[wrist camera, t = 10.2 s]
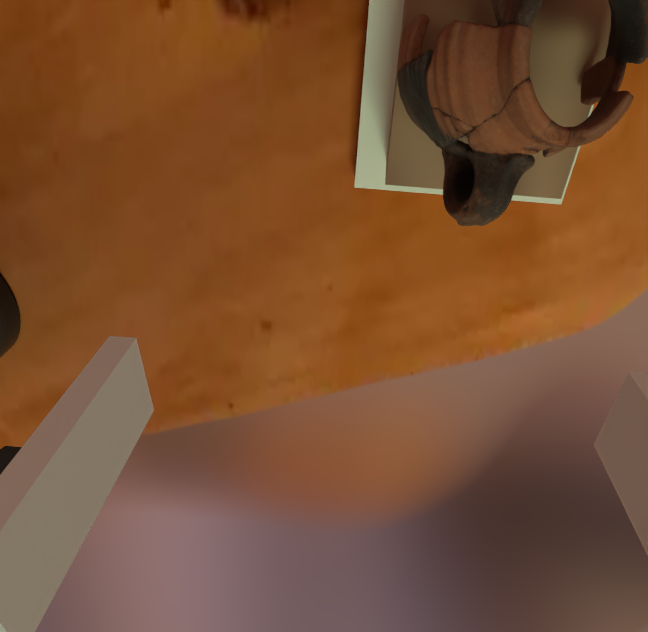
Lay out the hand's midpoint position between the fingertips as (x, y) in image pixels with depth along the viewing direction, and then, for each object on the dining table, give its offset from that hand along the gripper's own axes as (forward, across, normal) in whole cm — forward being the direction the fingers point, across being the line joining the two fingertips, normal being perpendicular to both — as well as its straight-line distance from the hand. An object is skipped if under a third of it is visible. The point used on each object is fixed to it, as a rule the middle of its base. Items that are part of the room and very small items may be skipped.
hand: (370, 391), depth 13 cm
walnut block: (+23, +6, +5) cm, 24 cm away
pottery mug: (+18, +6, +6) cm, 20 cm away
